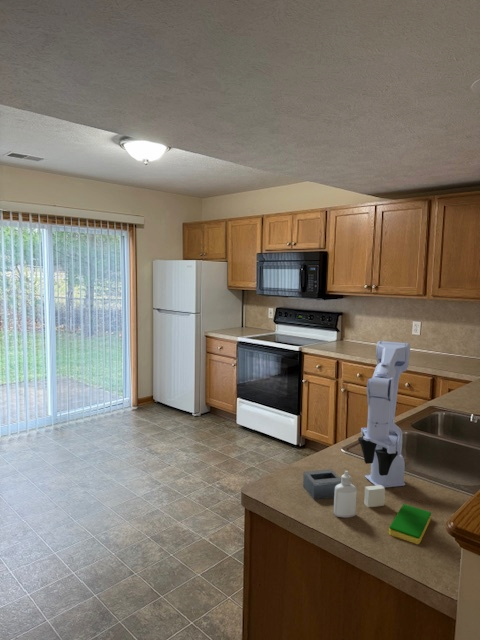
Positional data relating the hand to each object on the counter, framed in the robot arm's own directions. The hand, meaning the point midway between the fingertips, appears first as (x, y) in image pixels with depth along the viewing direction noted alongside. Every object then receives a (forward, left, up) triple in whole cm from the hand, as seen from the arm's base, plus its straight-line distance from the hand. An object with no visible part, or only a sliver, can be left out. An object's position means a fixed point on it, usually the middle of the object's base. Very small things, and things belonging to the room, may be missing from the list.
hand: (375, 468), depth 122 cm
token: (0, 0, -10) cm, 10 cm away
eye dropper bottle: (+11, +3, -11) cm, 15 cm away
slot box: (+11, -10, -10) cm, 18 cm away
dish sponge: (-3, +12, -11) cm, 16 cm away
